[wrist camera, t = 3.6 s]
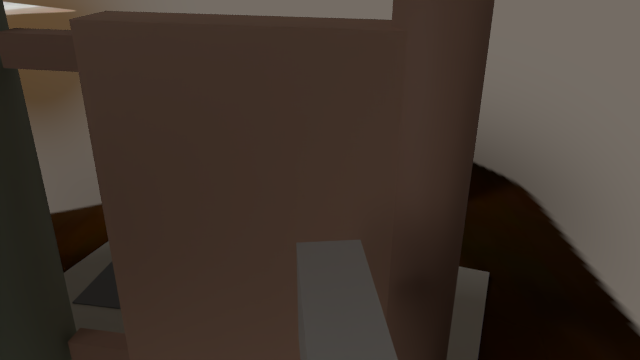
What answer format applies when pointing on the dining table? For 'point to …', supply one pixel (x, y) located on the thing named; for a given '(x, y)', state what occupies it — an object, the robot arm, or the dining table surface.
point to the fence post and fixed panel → (27, 240)
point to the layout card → (105, 314)
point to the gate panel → (272, 166)
